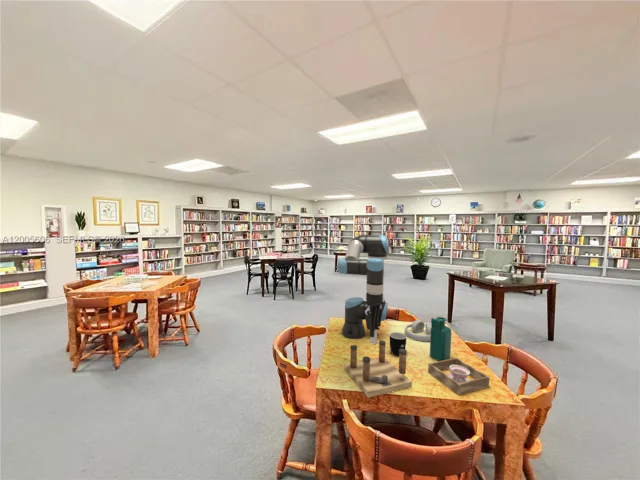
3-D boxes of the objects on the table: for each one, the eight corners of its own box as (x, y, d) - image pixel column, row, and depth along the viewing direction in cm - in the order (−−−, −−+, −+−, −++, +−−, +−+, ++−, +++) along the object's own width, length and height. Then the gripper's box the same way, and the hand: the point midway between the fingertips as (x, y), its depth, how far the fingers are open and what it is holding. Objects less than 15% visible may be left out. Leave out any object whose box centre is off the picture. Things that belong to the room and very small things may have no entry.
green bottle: (437, 352, 145) (438, 313, 144) (451, 358, 138) (453, 318, 137) (426, 357, 140) (428, 317, 138) (441, 364, 133) (443, 322, 131)
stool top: (345, 369, 127) (345, 344, 126) (383, 361, 134) (384, 338, 133) (367, 397, 106) (368, 368, 105) (411, 387, 113) (412, 359, 113)
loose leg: (396, 370, 116) (397, 349, 115) (402, 369, 117) (403, 348, 116) (401, 374, 113) (402, 352, 112) (407, 373, 114) (408, 351, 113)
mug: (400, 359, 137) (401, 340, 137) (386, 353, 143) (386, 335, 143) (411, 351, 146) (412, 334, 145) (396, 346, 152) (397, 329, 151)
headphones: (412, 326, 181) (400, 339, 166) (412, 315, 180) (400, 328, 165) (440, 333, 169) (430, 348, 154) (440, 322, 168) (430, 336, 153)
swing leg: (362, 380, 113) (362, 359, 112) (362, 376, 116) (363, 355, 115) (387, 384, 110) (388, 362, 110) (387, 380, 113) (388, 359, 113)
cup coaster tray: (428, 372, 125) (428, 363, 125) (455, 366, 131) (456, 357, 131) (458, 395, 108) (459, 384, 108) (488, 386, 114) (489, 377, 114)
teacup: (479, 385, 115) (480, 372, 115) (464, 394, 109) (465, 380, 109) (453, 372, 126) (453, 360, 125) (438, 380, 119) (439, 367, 119)
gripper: (375, 288, 124) (374, 336, 126) (359, 293, 115) (358, 344, 117) (389, 291, 119) (388, 341, 120) (373, 297, 110) (371, 350, 111)
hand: (373, 343), depth 118 cm, fingers closed
